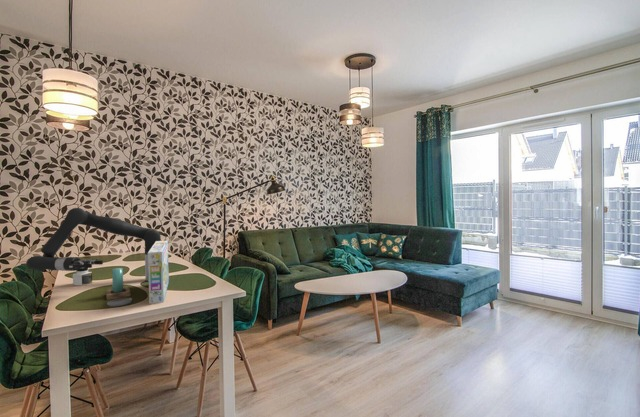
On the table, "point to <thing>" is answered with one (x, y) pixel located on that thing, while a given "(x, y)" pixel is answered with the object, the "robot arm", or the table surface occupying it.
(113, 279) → the tall teal cylinder
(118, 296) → the pocket block
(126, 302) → the coaster
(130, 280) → the table surface
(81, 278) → the medicine bottle
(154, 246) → the game box
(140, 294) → the table surface
